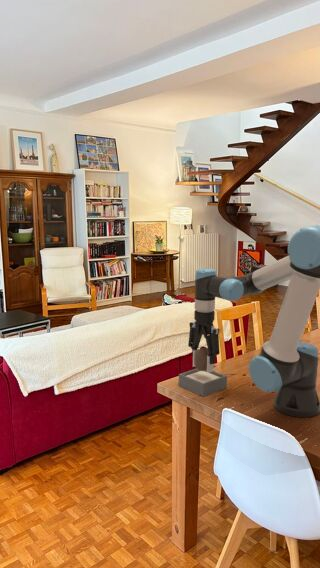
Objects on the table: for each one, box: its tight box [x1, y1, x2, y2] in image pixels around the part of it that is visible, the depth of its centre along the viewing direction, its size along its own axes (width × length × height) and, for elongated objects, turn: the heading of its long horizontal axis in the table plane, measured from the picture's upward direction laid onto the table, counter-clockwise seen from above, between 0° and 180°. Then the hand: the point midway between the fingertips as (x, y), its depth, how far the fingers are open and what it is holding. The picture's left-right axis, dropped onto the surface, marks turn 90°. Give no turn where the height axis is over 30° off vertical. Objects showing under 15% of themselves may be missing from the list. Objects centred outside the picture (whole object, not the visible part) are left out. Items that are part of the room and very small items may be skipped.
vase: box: [194, 345, 209, 371], centre depth 165 cm, size 7×7×9 cm
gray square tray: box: [178, 368, 228, 397], centre depth 167 cm, size 13×13×5 cm
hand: (202, 368), depth 166 cm, fingers closed on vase, 7 cm apart
